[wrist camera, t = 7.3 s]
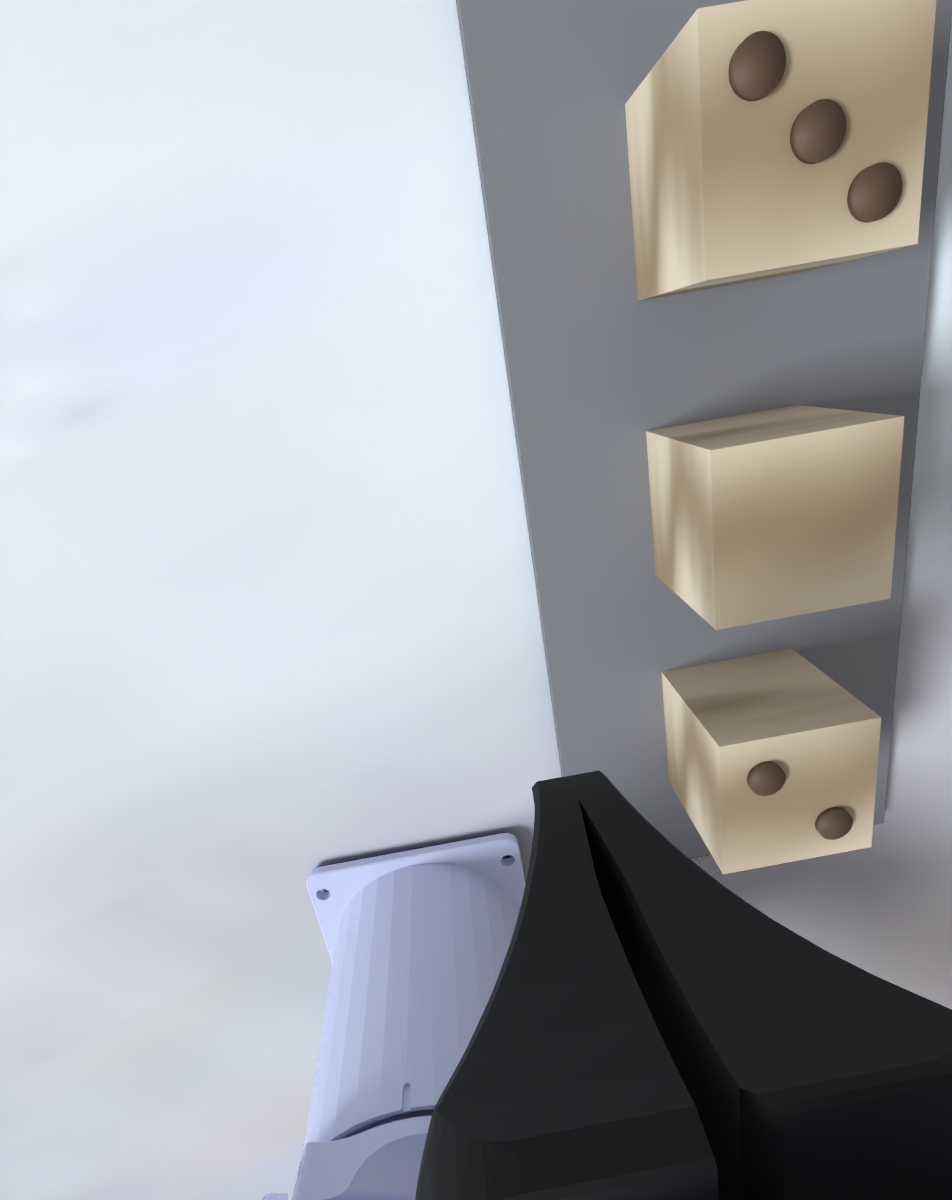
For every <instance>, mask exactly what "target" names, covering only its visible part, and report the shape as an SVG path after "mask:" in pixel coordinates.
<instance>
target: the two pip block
mask: <svg viewBox="0 0 952 1200" xmlns="http://www.w3.org/2000/svg"><path fill="white" fill-rule="evenodd" d="M662 686H663V702H664V717H665V733H666V748H667V764H668V779H669V783H670V785H671V786H672V788H673V790H674V791H675V793H676V795H677V797H678V798H679V800H680V802H681V803H682V805H683V807H684V809H685V810H686V812H687V814H688V815H689V817H690V819H691V820H692V822H693V824H694V826H695V827H696V829H697V831H698V832H699V834H700V836H701V838H702V839H703V841H704V843H705V844H706V846H707V848H708V850H709V851H710V853H711V855H712V856H713V858H714V860H715V862H716V863H717V865H718V867H719V868H720V870H721V872H722V874H729V873H734V872H739V871H745V870H750V869H756V868H761V867H766V866H772V865H777V864H783V863H788V862H793V861H799V860H804V859H810V858H815V857H820V856H826V855H831V854H837V853H842V852H847V851H853V850H858V849H864V848H869V847H871V846H872V833H873V820H874V807H875V794H876V780H877V767H878V754H879V741H880V728H881V717H880V716H879V715H878V714H876V713H875V712H874V711H872V710H871V709H870V708H869V707H867V706H866V705H865V704H863V703H862V702H861V701H860V700H858V699H857V698H856V697H854V696H853V695H852V694H850V693H849V692H848V691H847V690H845V689H844V688H843V687H841V686H840V685H839V684H837V683H836V682H835V681H834V680H832V679H831V678H830V677H828V676H827V675H826V674H824V673H823V672H822V671H821V670H819V669H818V668H817V667H815V666H814V665H813V664H812V663H810V662H809V661H808V660H806V659H805V658H804V657H802V656H801V655H800V654H799V653H797V652H796V651H795V650H793V649H792V648H791V649H786V650H780V651H775V652H769V653H764V654H758V655H753V656H747V657H742V658H736V659H731V660H725V661H720V662H714V663H708V664H703V665H697V666H692V667H686V668H681V669H675V670H670V671H664V672H662Z"/></svg>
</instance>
